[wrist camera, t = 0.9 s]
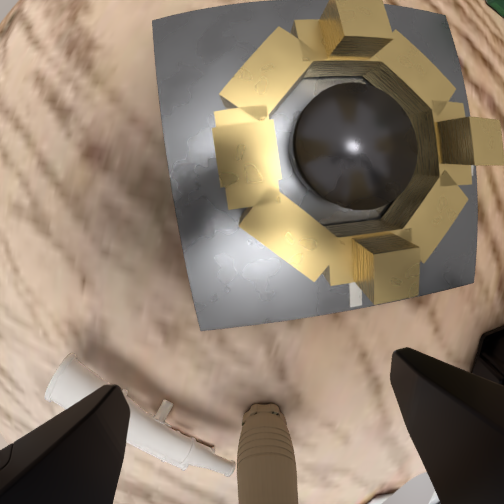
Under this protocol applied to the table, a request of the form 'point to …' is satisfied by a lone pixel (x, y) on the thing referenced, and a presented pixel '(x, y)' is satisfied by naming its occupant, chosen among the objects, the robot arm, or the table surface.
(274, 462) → the handle
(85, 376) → the white tapered multi-tube piece
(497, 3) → the coffee box
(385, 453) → the table surface
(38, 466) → the robot arm
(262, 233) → the octagonal socket base
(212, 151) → the cap plate
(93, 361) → the table surface
